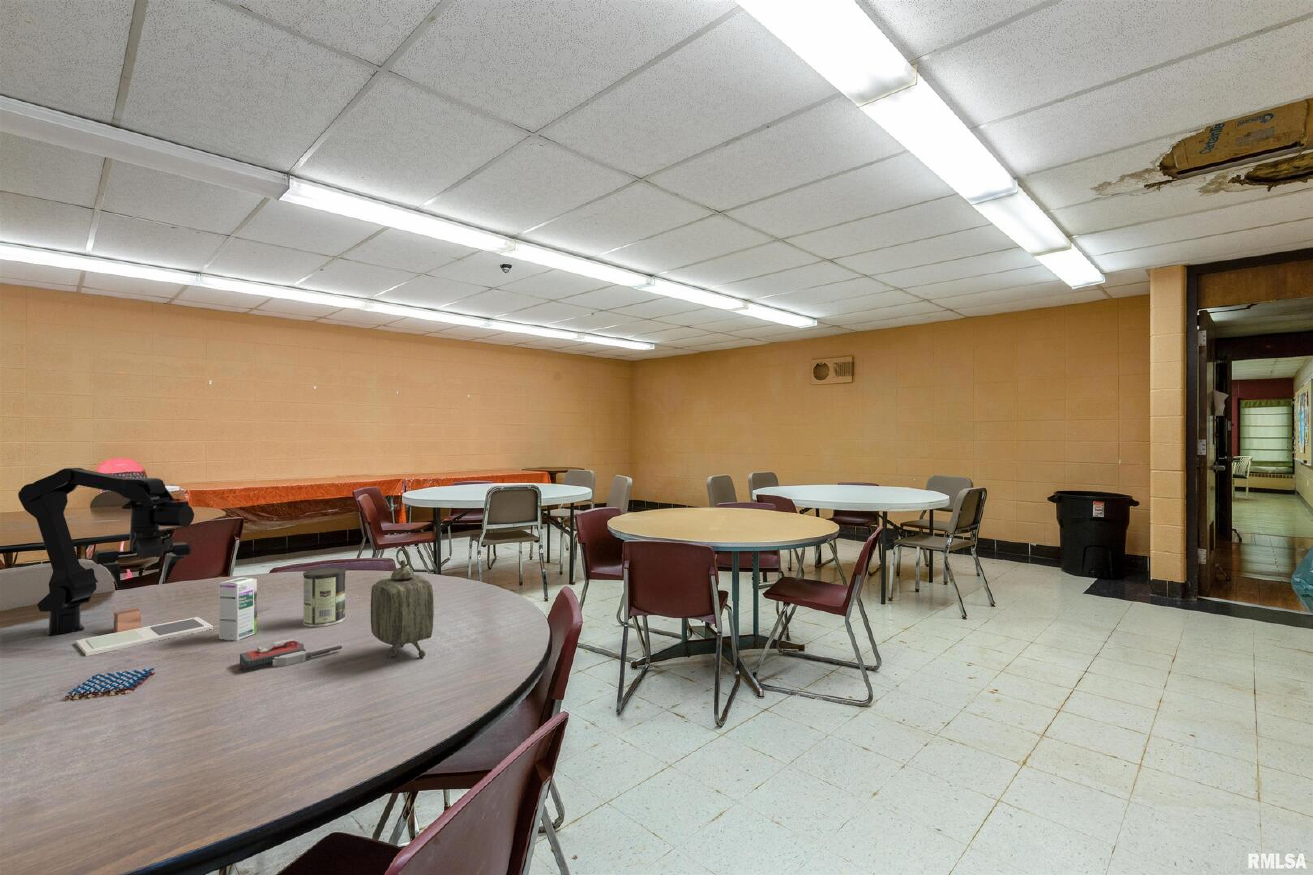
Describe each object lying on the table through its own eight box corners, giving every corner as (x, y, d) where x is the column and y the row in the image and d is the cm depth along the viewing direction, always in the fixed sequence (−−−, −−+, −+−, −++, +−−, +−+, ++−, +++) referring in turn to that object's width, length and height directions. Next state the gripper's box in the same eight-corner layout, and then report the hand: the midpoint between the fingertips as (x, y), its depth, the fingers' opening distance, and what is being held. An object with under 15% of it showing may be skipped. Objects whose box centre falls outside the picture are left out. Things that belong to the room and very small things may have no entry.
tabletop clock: (433, 657, 132) (434, 550, 133) (393, 668, 126) (394, 555, 126) (406, 642, 142) (407, 542, 142) (368, 651, 136) (369, 546, 136)
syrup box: (237, 641, 142) (237, 583, 142) (217, 639, 143) (218, 581, 143) (257, 633, 148) (258, 577, 148) (238, 632, 149) (239, 576, 149)
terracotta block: (113, 630, 149) (113, 611, 149) (136, 626, 153) (136, 607, 153) (117, 634, 146) (117, 615, 146) (140, 630, 150) (141, 610, 150)
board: (75, 643, 139) (75, 639, 139) (197, 619, 158) (197, 616, 158) (86, 656, 131) (86, 651, 131) (213, 629, 151) (213, 625, 151)
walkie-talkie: (241, 678, 121) (343, 654, 135) (241, 658, 121) (343, 635, 135) (232, 667, 127) (331, 644, 141) (232, 647, 127) (331, 626, 141)
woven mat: (93, 682, 119) (93, 672, 119) (156, 675, 122) (156, 666, 122) (61, 704, 109) (61, 693, 109) (131, 696, 112) (131, 685, 113)
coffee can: (333, 613, 165) (333, 564, 165) (352, 619, 160) (353, 569, 160) (295, 622, 157) (295, 571, 157) (314, 629, 151) (315, 576, 151)
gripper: (103, 533, 138) (100, 598, 138) (198, 526, 153) (196, 584, 153) (93, 528, 145) (90, 589, 145) (185, 521, 160) (183, 577, 160)
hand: (142, 585), depth 150 cm, fingers open, 9 cm apart
